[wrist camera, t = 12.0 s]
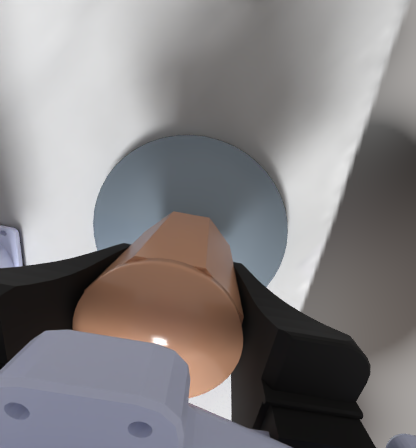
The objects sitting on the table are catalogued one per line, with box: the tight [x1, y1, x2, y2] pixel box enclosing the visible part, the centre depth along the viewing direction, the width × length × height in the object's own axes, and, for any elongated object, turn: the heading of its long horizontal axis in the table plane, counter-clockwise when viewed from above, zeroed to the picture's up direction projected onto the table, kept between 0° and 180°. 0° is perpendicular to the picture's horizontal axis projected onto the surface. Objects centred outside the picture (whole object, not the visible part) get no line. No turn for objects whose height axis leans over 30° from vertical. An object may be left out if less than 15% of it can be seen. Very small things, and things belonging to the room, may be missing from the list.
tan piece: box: [72, 211, 244, 398], centre depth 10 cm, size 6×6×7 cm
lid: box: [93, 135, 288, 287], centre depth 17 cm, size 16×16×1 cm
